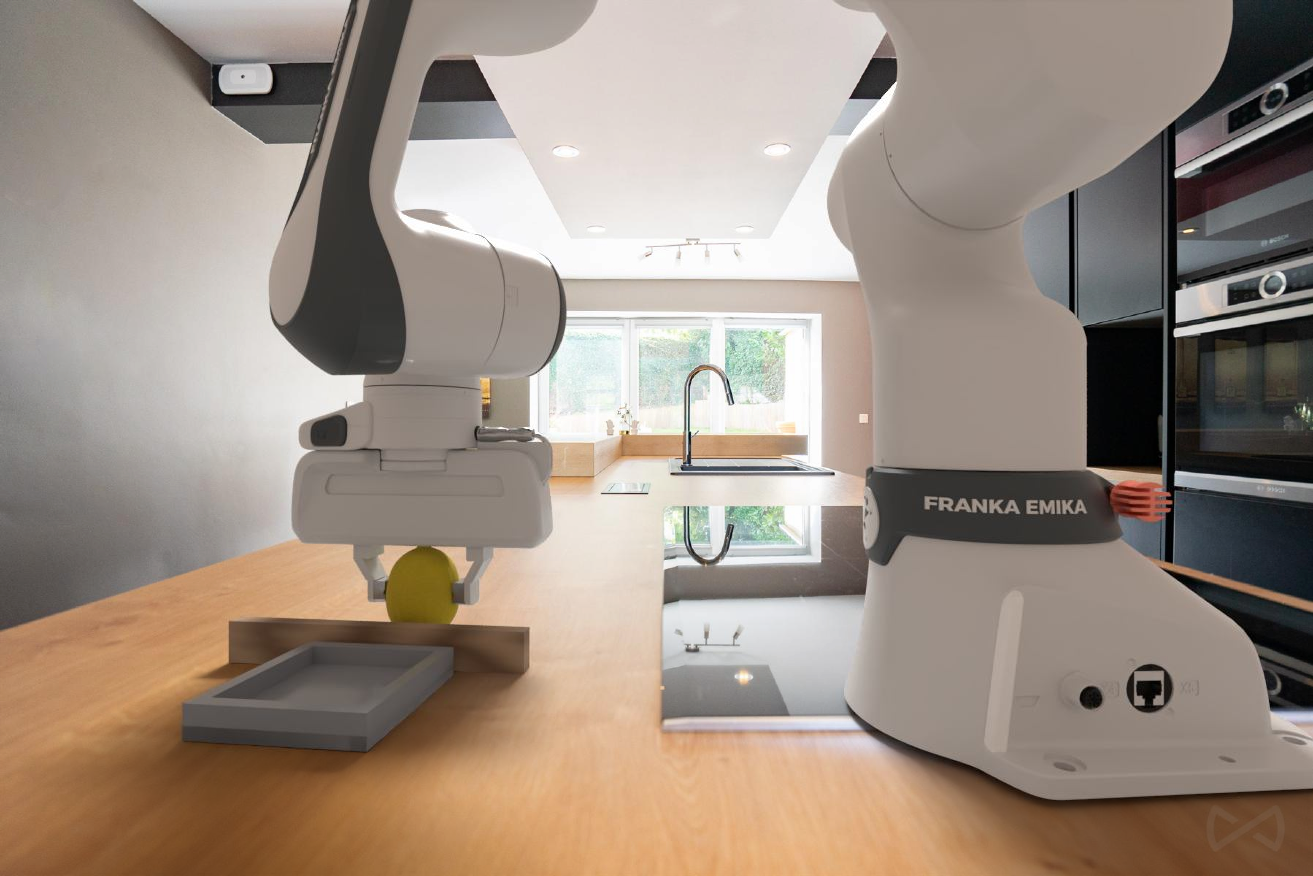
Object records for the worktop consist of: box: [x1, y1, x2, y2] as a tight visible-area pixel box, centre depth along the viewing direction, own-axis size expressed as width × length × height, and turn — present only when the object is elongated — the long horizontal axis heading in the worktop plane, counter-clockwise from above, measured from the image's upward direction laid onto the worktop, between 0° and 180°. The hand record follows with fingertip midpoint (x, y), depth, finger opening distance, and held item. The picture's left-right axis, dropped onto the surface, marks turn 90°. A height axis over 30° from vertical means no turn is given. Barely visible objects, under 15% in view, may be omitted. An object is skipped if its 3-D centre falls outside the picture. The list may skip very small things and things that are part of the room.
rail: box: [228, 615, 531, 674], centre depth 45 cm, size 22×1×3 cm, turn 84°
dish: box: [181, 641, 454, 753], centre depth 39 cm, size 10×10×2 cm
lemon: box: [385, 546, 460, 624], centre depth 50 cm, size 6×6×8 cm
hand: (423, 602), depth 50 cm, fingers closed on lemon, 5 cm apart
